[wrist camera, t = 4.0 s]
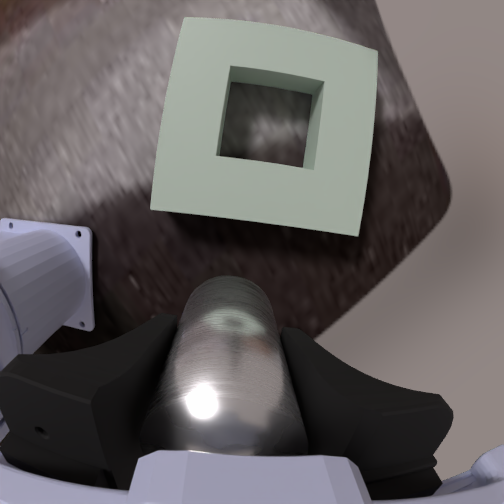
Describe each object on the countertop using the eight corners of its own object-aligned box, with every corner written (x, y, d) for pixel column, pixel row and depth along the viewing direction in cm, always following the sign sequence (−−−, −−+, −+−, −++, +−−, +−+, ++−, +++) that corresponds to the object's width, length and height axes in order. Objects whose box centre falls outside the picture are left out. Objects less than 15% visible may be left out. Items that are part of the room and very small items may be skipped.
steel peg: (183, 348, 14) (147, 483, 6) (188, 270, 13) (132, 382, 5) (265, 357, 14) (288, 495, 6) (279, 281, 13) (328, 401, 6)
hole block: (162, 205, 19) (150, 209, 16) (190, 37, 16) (184, 17, 14) (341, 228, 20) (358, 236, 17) (360, 65, 17) (377, 51, 15)
